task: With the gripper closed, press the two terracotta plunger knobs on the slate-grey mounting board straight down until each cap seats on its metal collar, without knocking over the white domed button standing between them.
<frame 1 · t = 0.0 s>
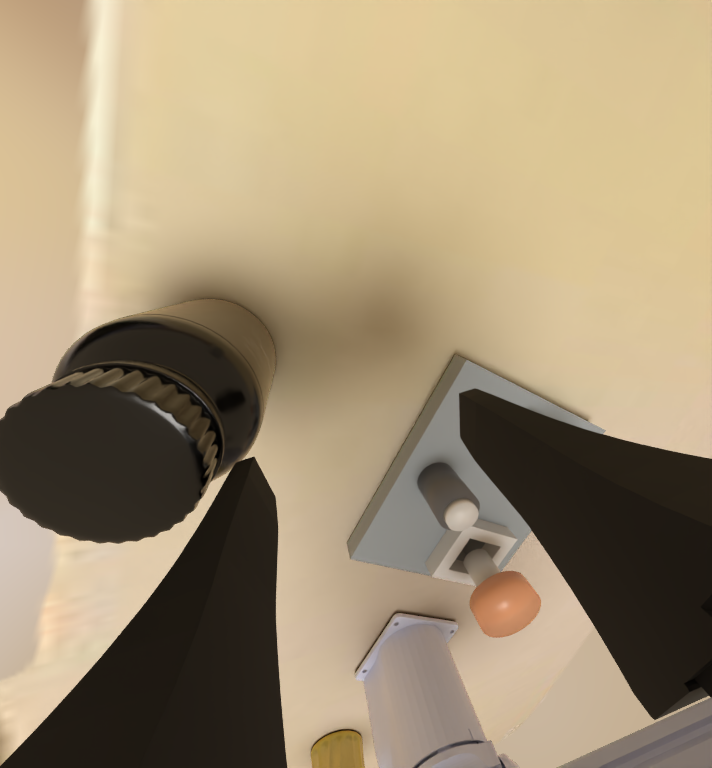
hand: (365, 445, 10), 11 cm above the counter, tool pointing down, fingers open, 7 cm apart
vase: (336, 742, 36), on the counter
mount board: (469, 481, 26), on the counter
white domed button: (435, 479, 23), point 2 cm above the counter, touching mount board
supplement bottle: (220, 354, 19), on the counter
knob a: (491, 584, 23), point 5 cm above the counter, slide at 0.0 cm
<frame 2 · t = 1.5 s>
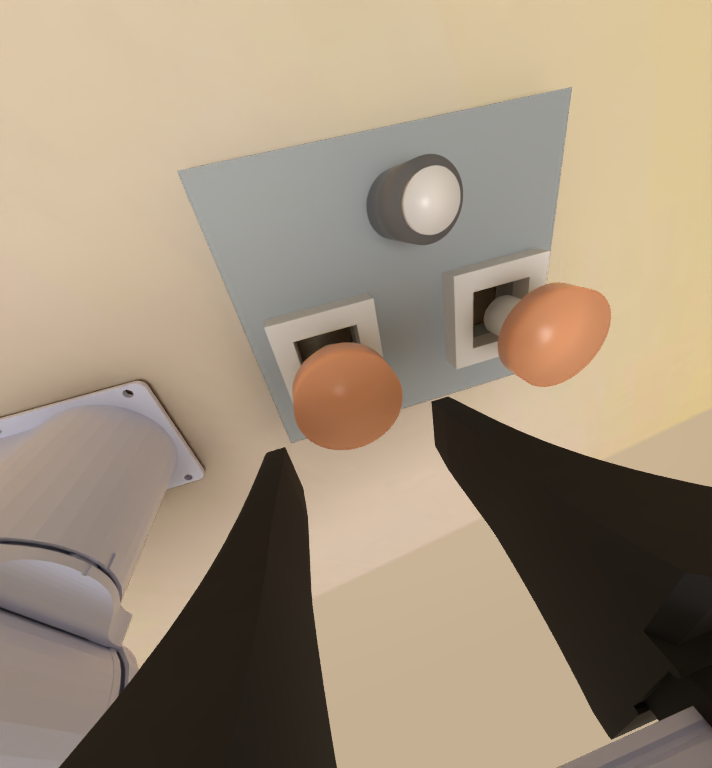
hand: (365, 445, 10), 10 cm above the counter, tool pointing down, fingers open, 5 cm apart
mount board: (396, 291, 18), on the counter
knob b: (528, 326, 15), point 5 cm above the counter, slide at 0.0 cm
white domed button: (396, 205, 14), point 2 cm above the counter, touching mount board
knob a: (340, 381, 14), point 5 cm above the counter, slide at 0.0 cm
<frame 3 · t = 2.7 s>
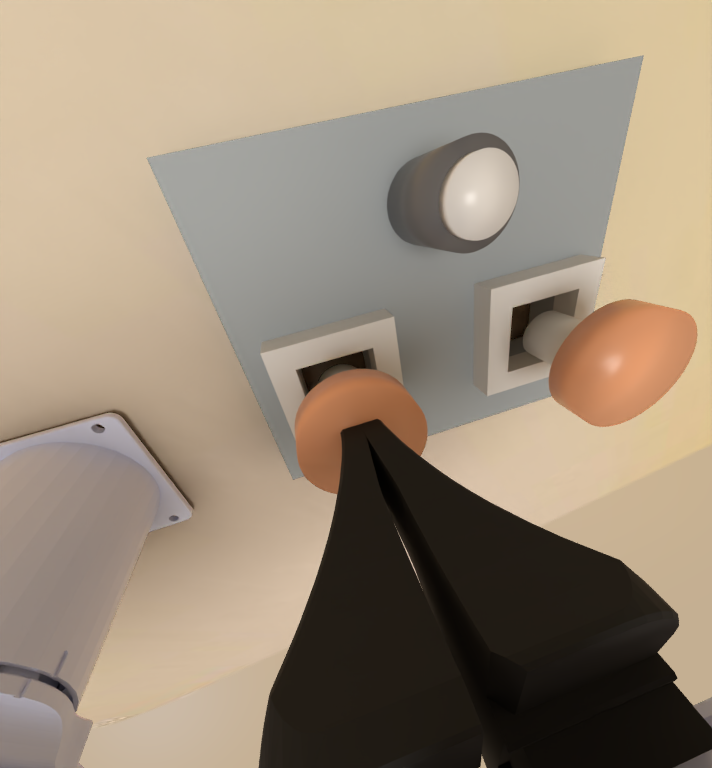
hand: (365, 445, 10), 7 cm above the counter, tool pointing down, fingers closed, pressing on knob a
mount board: (417, 304, 15), on the counter
knob b: (583, 350, 13), point 5 cm above the counter, slide at 0.0 cm
white domed button: (423, 203, 12), point 2 cm above the counter, touching mount board
knob a: (351, 411, 12), point 5 cm above the counter, slide at 0.7 cm, touching gripper
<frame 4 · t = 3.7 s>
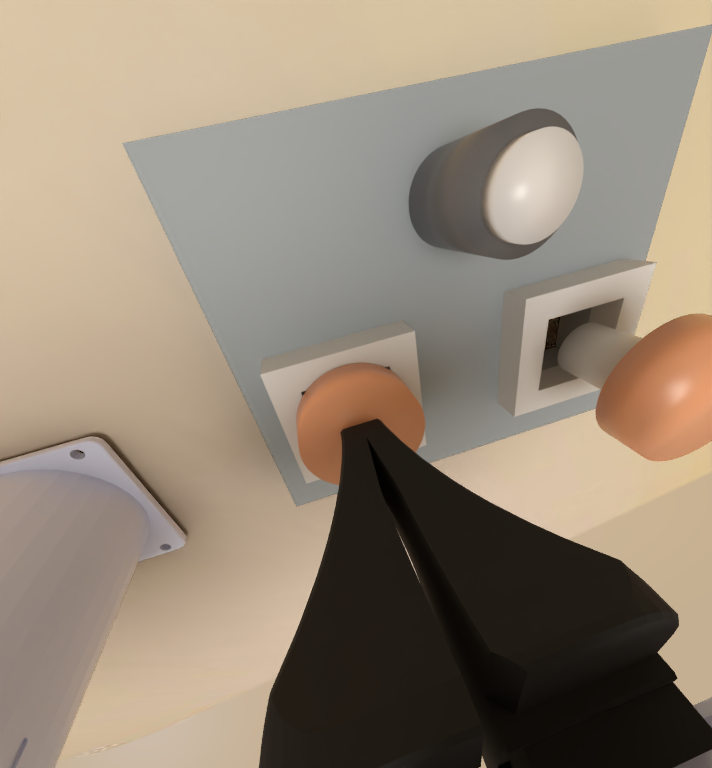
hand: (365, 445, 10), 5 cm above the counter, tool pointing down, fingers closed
mount board: (436, 313, 14), on the counter
knob b: (633, 370, 11), point 5 cm above the counter, slide at 0.0 cm
white domed button: (450, 199, 10), point 2 cm above the counter, touching mount board
knob a: (351, 405, 12), point 2 cm above the counter, slide at 3.0 cm
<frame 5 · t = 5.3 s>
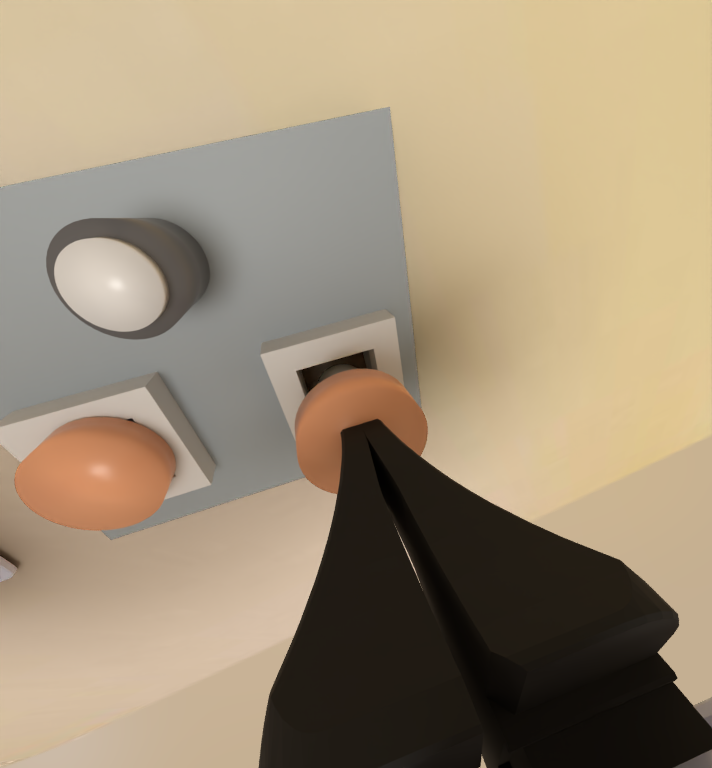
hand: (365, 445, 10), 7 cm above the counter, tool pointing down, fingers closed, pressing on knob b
mount board: (223, 358, 14), on the counter
knob b: (351, 411, 12), point 4 cm above the counter, slide at 0.8 cm, touching gripper
white domed button: (163, 265, 11), point 2 cm above the counter, touching mount board
knob a: (121, 450, 13), point 2 cm above the counter, slide at 3.0 cm
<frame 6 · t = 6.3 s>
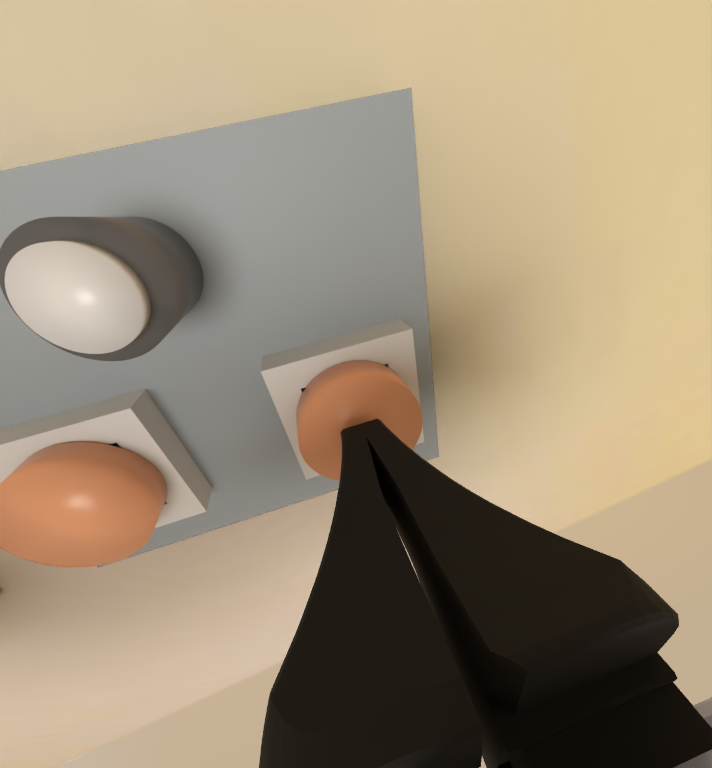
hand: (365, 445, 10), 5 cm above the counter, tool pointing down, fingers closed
mount board: (220, 372, 13), on the counter
knob b: (350, 402, 13), point 2 cm above the counter, slide at 3.0 cm
white domed button: (150, 271, 9), point 2 cm above the counter, touching mount board
knob a: (106, 475, 12), point 2 cm above the counter, slide at 3.0 cm
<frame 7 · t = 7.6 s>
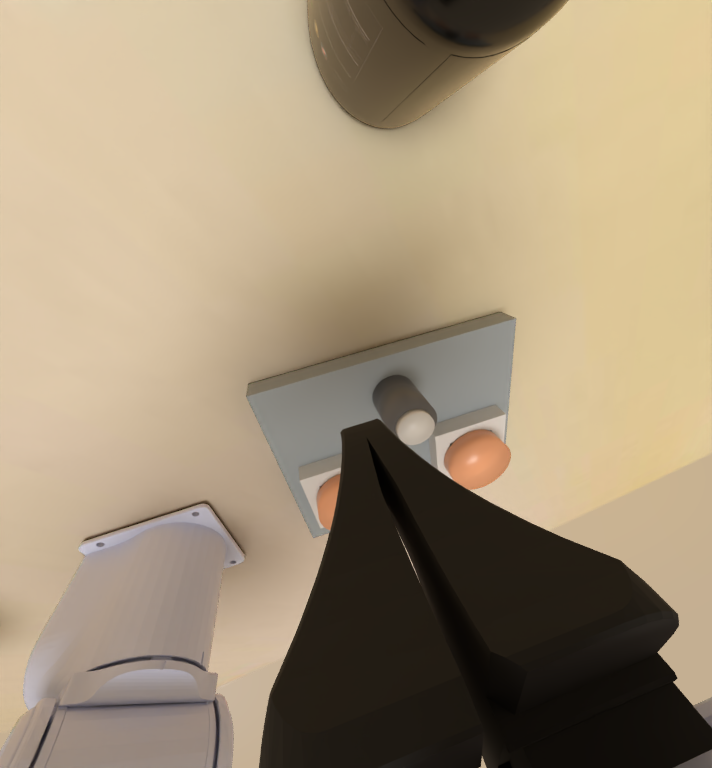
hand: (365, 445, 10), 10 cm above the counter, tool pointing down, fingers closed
mount board: (394, 430, 24), on the counter
knob b: (466, 447, 24), point 2 cm above the counter, slide at 3.0 cm
white domed button: (393, 394, 20), point 2 cm above the counter, touching mount board
supplement bottle: (381, 33, 13), on the counter
knob a: (345, 486, 23), point 2 cm above the counter, slide at 3.0 cm
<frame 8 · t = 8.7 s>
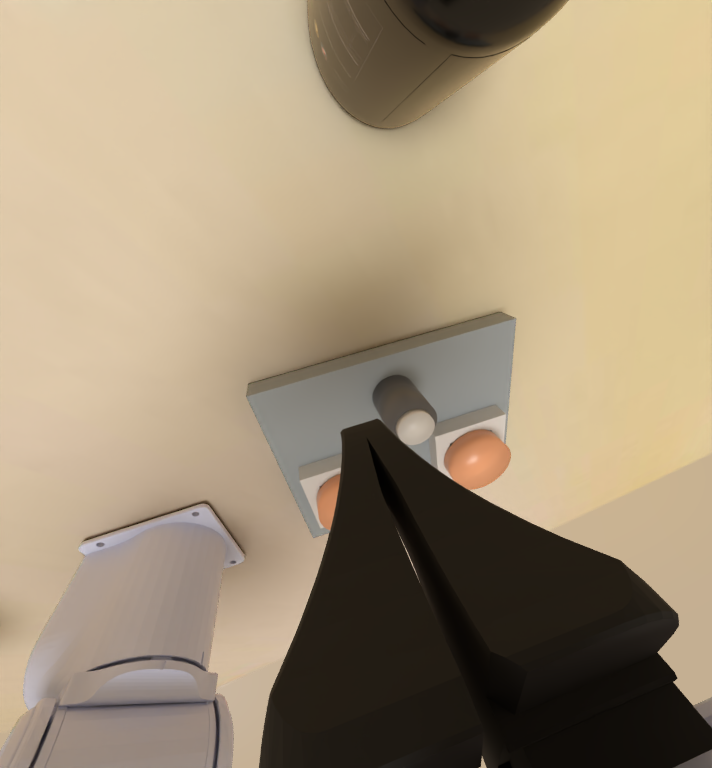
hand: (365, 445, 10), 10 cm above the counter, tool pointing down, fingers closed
mount board: (394, 430, 24), on the counter
knob b: (466, 447, 24), point 2 cm above the counter, slide at 3.0 cm
white domed button: (393, 394, 20), point 2 cm above the counter, touching mount board
supplement bottle: (381, 33, 13), on the counter
knob a: (345, 486, 23), point 2 cm above the counter, slide at 3.0 cm
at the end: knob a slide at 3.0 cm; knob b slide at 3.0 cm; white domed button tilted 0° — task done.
